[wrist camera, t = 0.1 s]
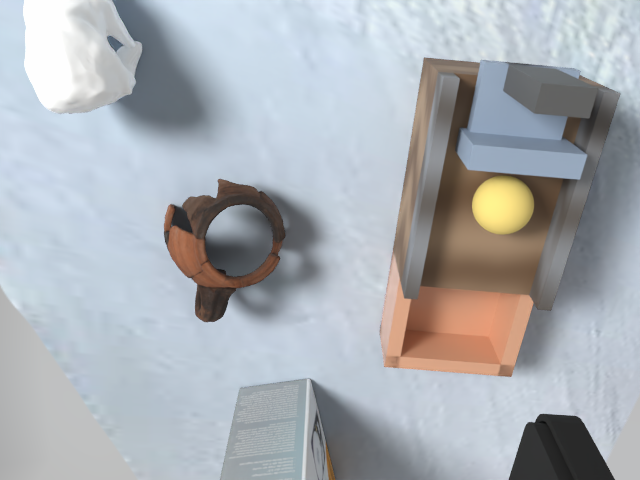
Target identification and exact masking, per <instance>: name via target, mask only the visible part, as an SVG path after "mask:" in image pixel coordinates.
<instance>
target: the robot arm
mask: <svg viewBox="0 0 640 480" xmlns="http://www.w3.org/2000/svg"><path fill="white" fill-rule="evenodd" d="M509 480H615V479H614V477H613V476H612V474H611V472H610V470H609V468H608V466H607V464H606V463H605V461H604V459H603V457H602V455H601V454H600V452H599V450H598V448H597V446H596V445H595V443H594V441H593V439H592V437H591V436H590V434H589V432H588V430H587V428H586V427H585V425H584V423H583V422H582V420H581V419H580V418H578V417H577V416H567V415H552V414H540V415H539V416H538V417H537V419H536V421H535V423H533V422H528V423H527V424H526V426H525V429H524V432H523V435H522V439H521V442H520V445H519V448H518V451H517V455H516V458H515V461H514V464H513V467H512V471H511V474H510V477H509Z"/></svg>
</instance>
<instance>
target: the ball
mask: <svg viewBox="0 0 640 480" xmlns="http://www.w3.org/2000/svg"><path fill="white" fill-rule="evenodd" d="M472 210H473V214H474V217H475V219H476V221H477V222H478V223H479V225H480V226H481V227H483V228H484V229H485V230H487V231H489V232H491V233H494V234H501V235H504V234H511V233H514V232H516V231H518V230H520V229H521V228H523V227H524V226H525V225H526V224H527V223H528V222H529V220H530V218H531V216H532V214H533V210H534V199H533V195H532V193H531V191H530V189H529V188H528V186H527V185H526V184H525V183H524V182H522V181H521V180H519V179H517V178H515V177H512V176H496V177H492V178H490V179H488V180H486V181H485V182H484V183H482V184H481V185H480V186H479V188H478V189H477V190H476V192H475V194H474V197H473V201H472Z"/></svg>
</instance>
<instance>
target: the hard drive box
mask: <svg viewBox="0 0 640 480" xmlns="http://www.w3.org/2000/svg"><path fill="white" fill-rule="evenodd" d="M220 480H335V476H334V472H333V468H332V463H331V460H330V456H329V452H328V448H327V444H326V440H325V436H324V431H323V427H322V423H321V419H320V415H319V410H318V407H317V403H316V398H315V395H314V391H313V387H312V383H311V380H310V379H302V380H295V381H288V382H280V383H273V384H265V385H259V386H252V387H245V388H240V390H239V393H238V398H237V402H236V407H235V411H234V416H233V421H232V426H231V430H230V435H229V439H228V444H227V449H226V454H225V458H224V463H223V468H222V472H221V477H220Z"/></svg>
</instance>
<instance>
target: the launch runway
mask: <svg viewBox="0 0 640 480" xmlns="http://www.w3.org/2000/svg"><path fill="white" fill-rule="evenodd" d="M479 67H480V63H476V62H466V61H455V60H444V59H433V58H424V61H423V68H422V74H421V80H420V86H419V92H418V99H417V105H416V111H415V117H414V123H413V129H412V136H411V142H410V148H409V154H408V160H407V167H406V173H405V179H404V185H403V191H402V198H401V204H400V210H399V216H398V222H397V228H396V235H395V241H394V247H393V251H394V255H395V260H396V264H397V269H398V273H399V278H400V282H401V286H402V291H403V295H404V299H416V300H418V295H419V290H420V286H424V287H436V288H448V289H461V290H473V291H485V292H497V293H509V294H521V295H529V296H530V297H531V299H532V301H533V302H534V304H535V306H536V307H537V309H539V310H551V309H552V306H553V303H554V300H555V297H556V293H557V290H558V287H559V284H560V281H561V278H562V275H563V271H564V268H565V265H566V262H567V259H568V256H569V253H570V250H571V246H572V243H573V240H574V237H575V234H576V231H577V228H578V225H579V221H580V218H581V215H582V212H583V209H584V206H585V203H586V199H587V196H588V193H589V190H590V187H591V184H592V181H593V178H594V174H595V171H596V168H597V165H598V162H599V159H600V156H601V153H602V149H603V146H604V143H605V140H606V137H607V134H608V131H609V127H610V124H611V121H612V118H613V115H614V112H615V109H616V106H617V102H618V99H619V96H620V93H618V92H616V91H614V90H612V89H609V88H607V87H605V86H603V85H600V84H598V83H596V82H594V81H591V80H589V79H587V78H585V77H582V76H580V75H579V80H582V81H584V82H586V83H588V84H590V85H592V86H595V87H597V88H598V91H597V95H596V98H595V101H594V105H593V108H592V111H591V115H590V118H578V117H568V118H567V121H566V125H565V128H564V132H563V135H562V137H564V138H565V139H567V140H568V141H569V142H571V143H572V144H574V145H575V146H576V147H578V148H579V149H580V150H582V151H583V152H584V153H586V154H587V158H586V161H585V165H584V168H583V171H582V174H581V178H580V180H578V179H566V178H555V177H544V176H532V175H521V174H509V173H498V172H486V171H475V170H468V169H467V168H466V166H465V165H464V163H463V162H462V160H461V159H460V157H459V156H458V154H457V153H456V151H455V148H456V143H457V138H458V133H459V128H460V127H461V128H467V125H468V121H469V116H470V111H471V106H472V101H473V96H474V91H475V86H476V82H477V77H478V72H479ZM496 176H512V177H515V178H517V179H519V180H521V181H522V182H524V183H525V184H526V185H527V186H528V188H529V189H530V191H531V193H532V195H533V199H534V210H533V214H532V216H531V218H530V220H529V222H528V223H527V224H526V225H525V226H524V227H523V228H521V229H520V230H518V231H516V232H514V233H511V234H504V235H501V234H494V233H491V232H489V231H487V230H485V229H484V228H483V227H481V226H480V225H479V223H478V222H477V221H476V219H475V217H474V214H473V210H472V201H473V197H474V194H475V192H476V190H477V189H478V188H479V186H480V185H481V184H482V183H484V182H485V181H486V180H488V179H490V178H492V177H496Z"/></svg>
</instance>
